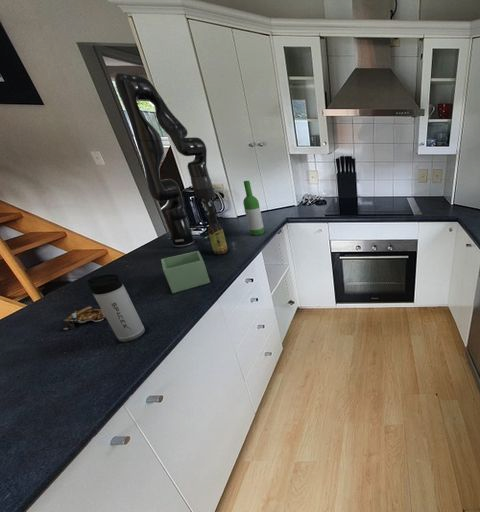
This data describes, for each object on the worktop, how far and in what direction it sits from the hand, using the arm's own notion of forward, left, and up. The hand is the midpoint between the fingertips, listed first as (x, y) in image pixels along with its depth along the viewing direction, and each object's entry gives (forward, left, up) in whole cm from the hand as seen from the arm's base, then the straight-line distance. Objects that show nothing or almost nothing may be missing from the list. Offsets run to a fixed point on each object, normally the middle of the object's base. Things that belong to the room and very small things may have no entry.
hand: (212, 221), depth 128 cm
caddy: (+23, -16, -16) cm, 32 cm away
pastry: (+30, -44, -16) cm, 56 cm away
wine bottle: (-15, +22, -16) cm, 31 cm away
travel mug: (+48, -34, -16) cm, 61 cm away
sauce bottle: (0, 0, -16) cm, 16 cm away
